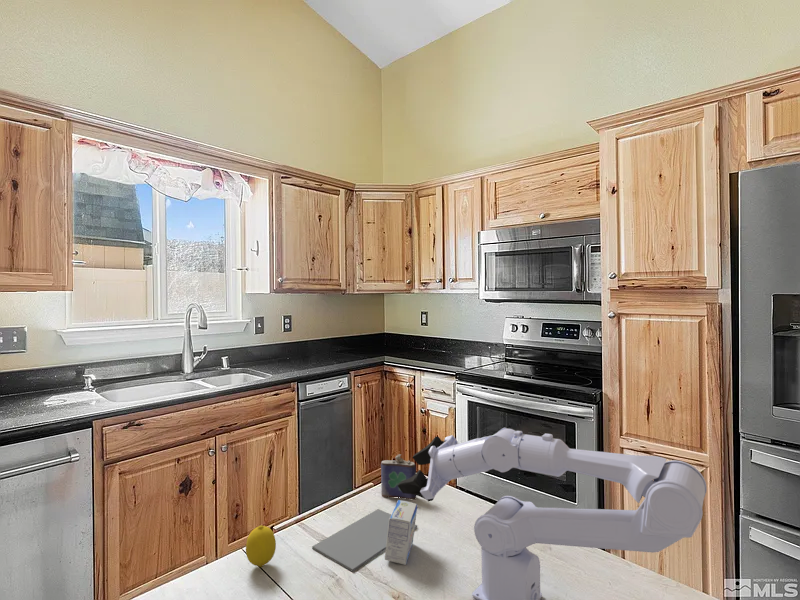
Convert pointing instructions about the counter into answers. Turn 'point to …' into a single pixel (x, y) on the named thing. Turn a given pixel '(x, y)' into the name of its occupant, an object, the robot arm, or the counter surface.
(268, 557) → the lemon
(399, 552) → the medicine box
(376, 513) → the mat
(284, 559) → the counter surface
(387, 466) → the flask
